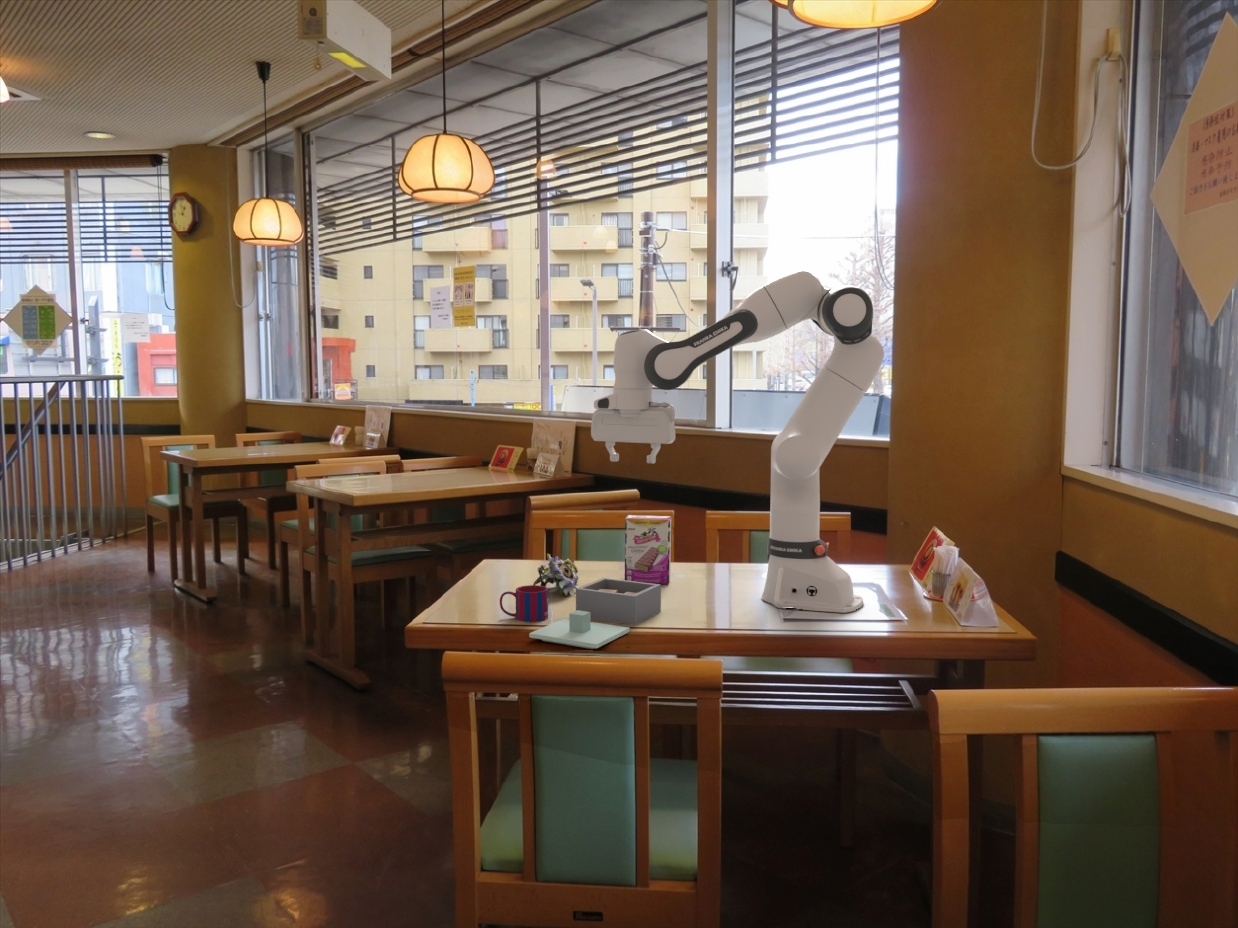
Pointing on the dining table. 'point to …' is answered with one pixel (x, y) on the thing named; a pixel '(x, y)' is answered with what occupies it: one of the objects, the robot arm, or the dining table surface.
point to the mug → (529, 603)
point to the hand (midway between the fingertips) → (632, 462)
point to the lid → (579, 631)
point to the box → (619, 600)
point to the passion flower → (559, 575)
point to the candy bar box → (648, 549)
